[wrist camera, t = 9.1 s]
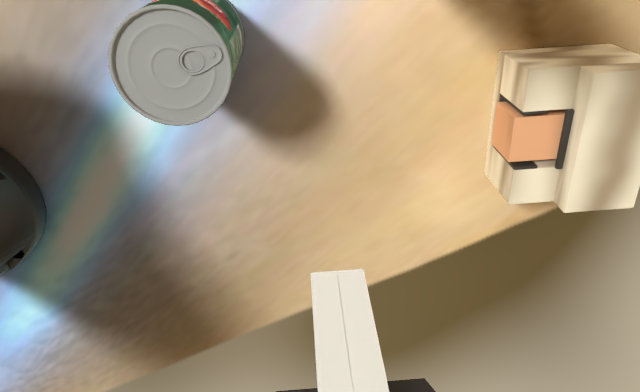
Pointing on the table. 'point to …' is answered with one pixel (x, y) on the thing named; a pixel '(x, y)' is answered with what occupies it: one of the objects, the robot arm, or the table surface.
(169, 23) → the canned tomato
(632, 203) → the sleeve
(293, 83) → the table surface
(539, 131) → the peg
